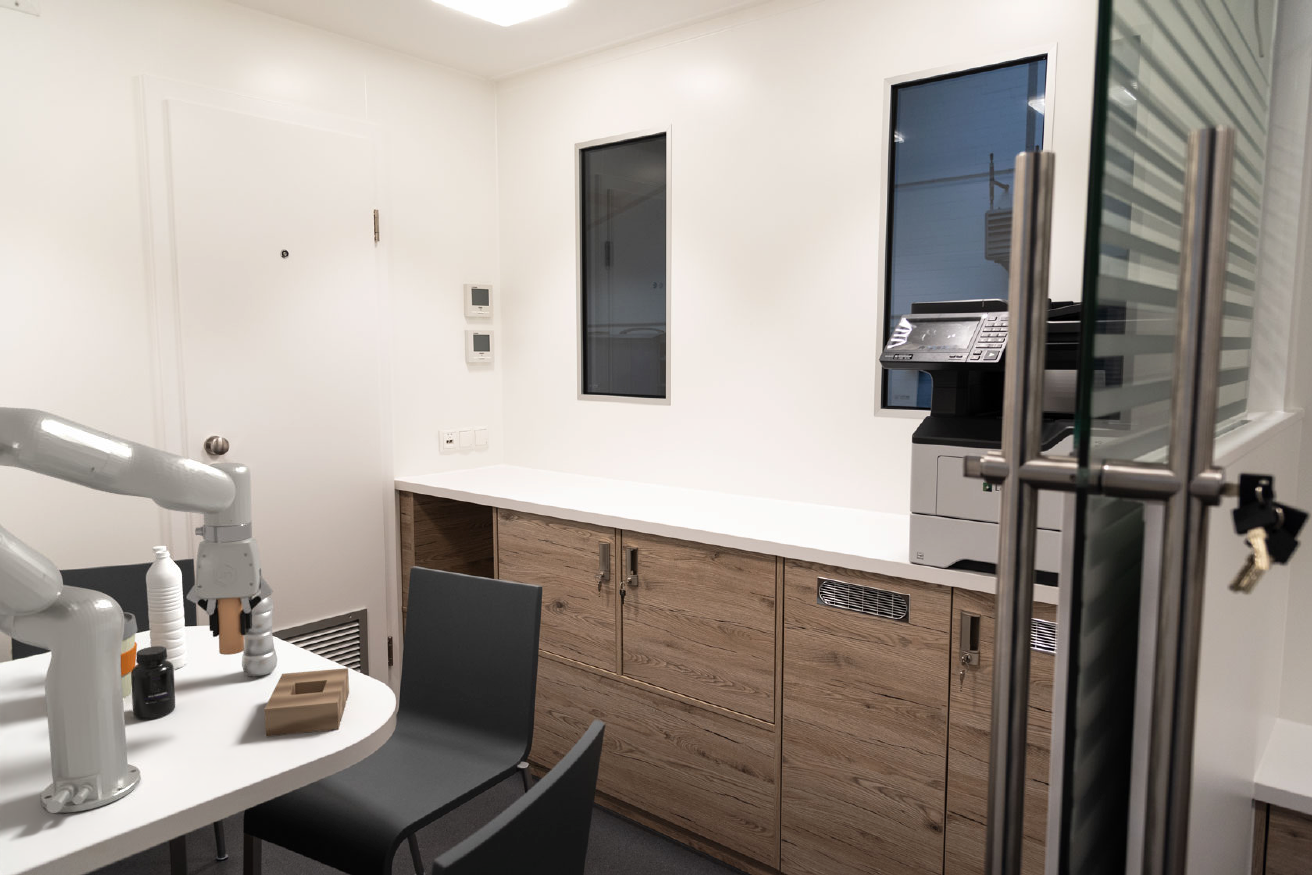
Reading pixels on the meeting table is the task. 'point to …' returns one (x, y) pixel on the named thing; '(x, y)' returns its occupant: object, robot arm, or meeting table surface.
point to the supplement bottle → (152, 684)
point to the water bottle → (166, 607)
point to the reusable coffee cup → (128, 652)
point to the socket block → (307, 702)
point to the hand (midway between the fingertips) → (231, 632)
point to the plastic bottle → (260, 641)
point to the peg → (230, 626)
